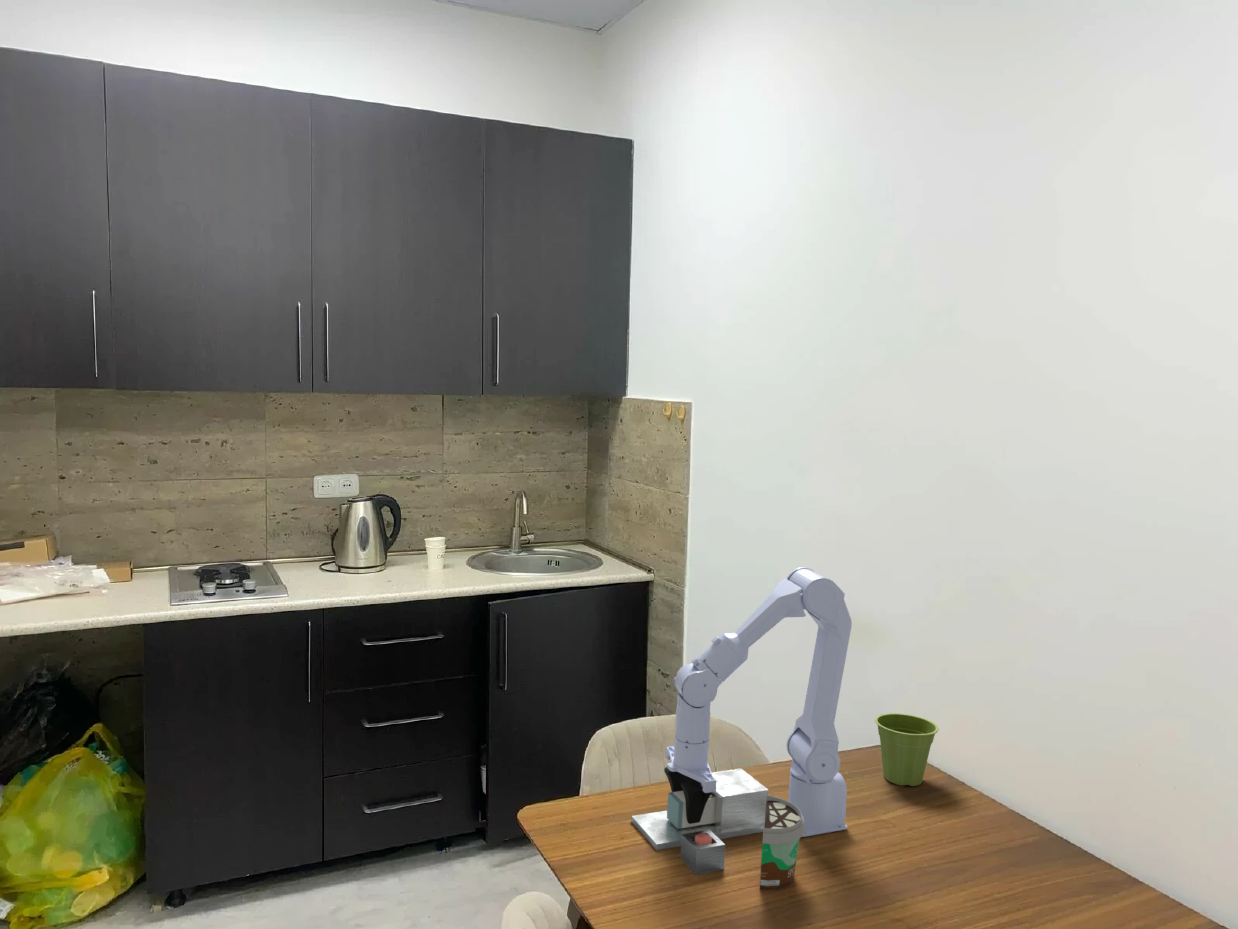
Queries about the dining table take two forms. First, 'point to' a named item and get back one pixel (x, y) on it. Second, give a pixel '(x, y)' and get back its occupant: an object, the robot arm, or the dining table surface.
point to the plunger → (703, 839)
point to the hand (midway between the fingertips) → (687, 815)
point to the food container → (780, 843)
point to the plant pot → (905, 746)
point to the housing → (734, 812)
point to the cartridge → (678, 810)
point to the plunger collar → (702, 853)
